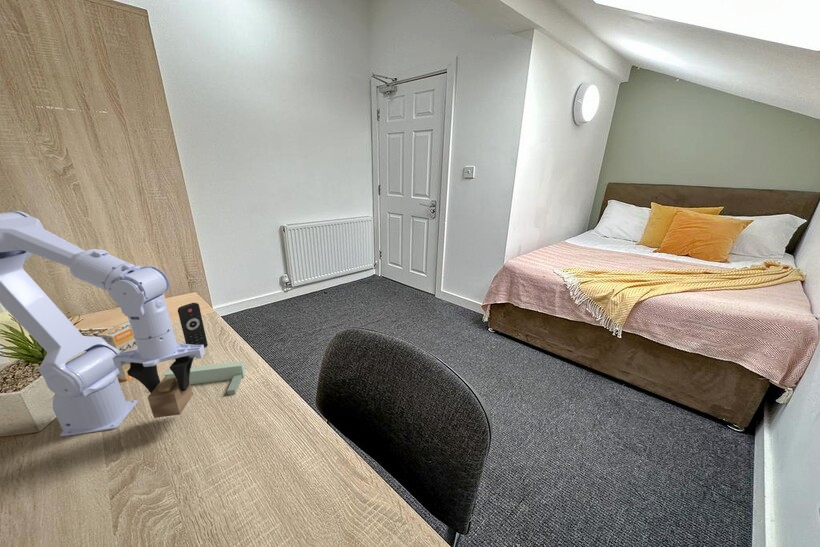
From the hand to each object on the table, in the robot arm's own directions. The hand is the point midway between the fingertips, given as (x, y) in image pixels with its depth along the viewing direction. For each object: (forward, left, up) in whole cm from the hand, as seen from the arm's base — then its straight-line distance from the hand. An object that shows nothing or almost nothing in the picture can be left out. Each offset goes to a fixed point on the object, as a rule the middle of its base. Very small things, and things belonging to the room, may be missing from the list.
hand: (171, 389), depth 62 cm
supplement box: (-19, +21, -9) cm, 30 cm away
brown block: (0, 0, -4) cm, 4 cm away
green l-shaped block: (+1, +13, -8) cm, 16 cm away
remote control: (-7, +28, -9) cm, 30 cm away
